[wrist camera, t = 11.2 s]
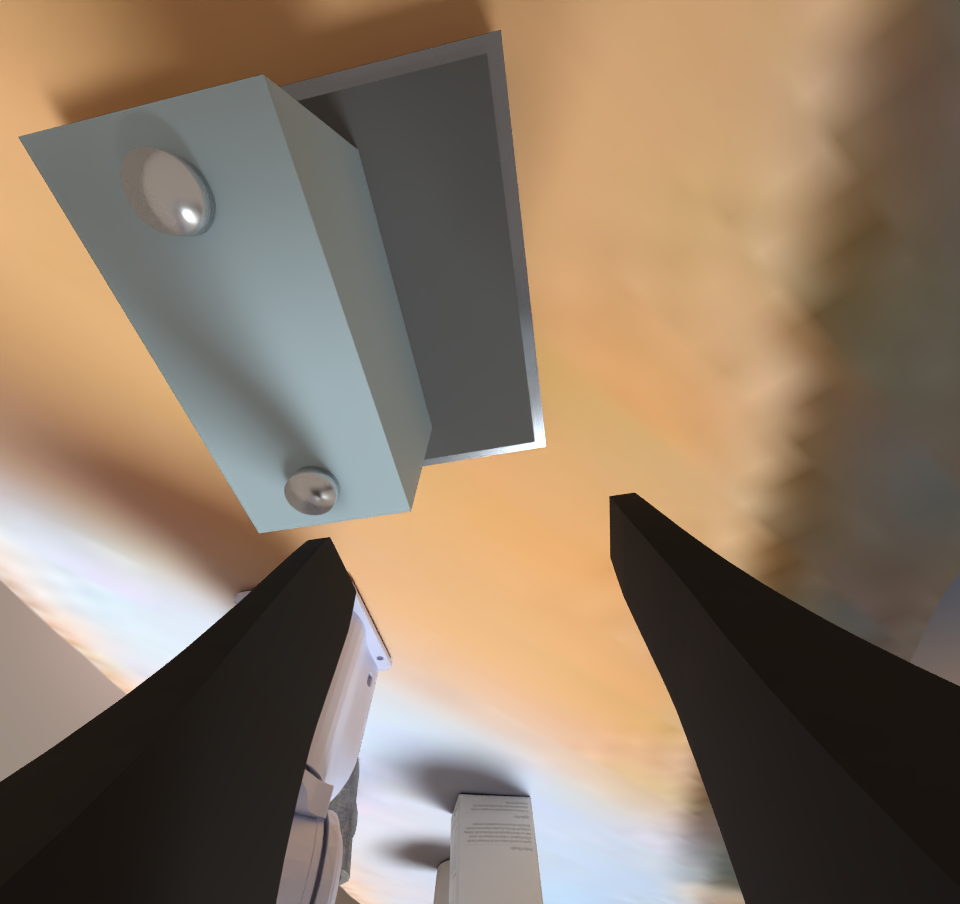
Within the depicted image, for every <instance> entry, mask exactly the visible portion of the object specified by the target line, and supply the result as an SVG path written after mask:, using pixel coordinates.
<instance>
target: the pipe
mask: <svg viewBox="0 0 960 904" xmlns="http://www.w3.org/2000/svg"><path fill="white" fill-rule="evenodd" d="M358 779H359V763H358V761H357V762H356V765H355V767H354V769H353V771H352V773H351V775H350V777H349V779H348V781H347V782H346V784H345V785H344V786H343V788H342V789H341V791H340V792H339V793H338V794H337V796H336V797H335V798H334V799H333V800H332V801H331V802H330V804H329V808H328V810H333V811H334V812H335V813H336V814H337V816H338V819H339V824H340V831H341V834H342V841H343V856H342V866H341V873H340V879H339V885H341V884H343V883H346V882H347V881H348V880H349V878H350V865H351V850H352V838H353V836H354V834H355V831H356V826H357V814H358V811H357V804H356V797H357V786H358Z"/></svg>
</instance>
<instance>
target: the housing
mask: <svg viewBox="0 0 960 904" xmlns="http://www.w3.org/2000/svg"><path fill="white" fill-rule="evenodd" d="M19 139H20V141H21V142H22V144H23V146H24V147H25V149H26V151H27V152H28V154H29V156H30V157H31V159H32V161H33V162H34V164H35V165H36V167H37V169H38V170H39V172H40V174H41V175H42V177H43V179H44V180H45V182H46V184H47V185H48V187H49V189H50V190H51V192H52V193H53V195H54V197H55V198H56V200H57V202H58V203H59V205H60V207H61V208H62V210H63V212H64V213H65V215H66V217H67V218H68V220H69V221H70V223H71V225H72V226H73V228H74V230H75V231H76V233H77V235H78V236H79V238H80V240H81V241H82V243H83V245H84V246H85V248H86V249H87V251H88V253H89V254H90V256H91V258H92V259H93V261H94V263H95V264H96V266H97V268H98V269H99V271H100V273H101V274H102V276H103V277H104V279H105V281H106V282H107V284H108V286H109V287H110V289H111V291H112V292H113V294H114V296H115V297H116V299H117V301H118V302H119V304H120V305H121V307H122V309H123V310H124V312H125V314H126V315H127V317H128V319H129V320H130V322H131V324H132V325H133V327H134V329H135V330H136V332H137V333H138V335H139V337H140V338H141V340H142V342H143V343H144V345H145V347H146V348H147V350H148V352H149V353H150V355H151V357H152V358H153V360H154V361H155V363H156V365H157V366H158V368H159V370H160V371H161V373H162V375H163V376H164V378H165V380H166V381H167V383H168V385H169V386H170V388H171V389H172V391H173V393H174V394H175V396H176V398H177V399H178V401H179V403H180V404H181V406H182V408H183V409H184V411H185V413H186V414H187V416H188V417H189V419H190V421H191V422H192V424H193V426H194V427H195V429H196V431H197V432H198V434H199V436H200V437H201V439H202V441H203V442H204V444H205V445H206V447H207V449H208V450H209V452H210V454H211V455H212V457H213V459H214V460H215V462H216V464H217V465H218V467H219V469H220V470H221V472H222V473H223V475H224V477H225V478H226V480H227V482H228V483H229V485H230V487H231V488H232V490H233V492H234V493H235V495H236V497H237V498H238V500H239V501H240V503H241V505H242V506H243V508H244V510H245V511H246V513H247V515H248V516H249V518H250V520H251V521H252V523H253V525H254V526H255V528H256V529H257V531H258V533H266V532H273V531H279V530H286V529H293V528H300V527H307V526H313V525H320V524H327V523H334V522H341V521H347V520H354V519H361V518H368V517H375V516H381V515H388V514H395V513H402V512H409V511H411V508H412V505H413V501H414V497H415V493H416V489H417V485H418V481H419V477H420V473H421V470H422V466H423V462H424V458H425V454H426V450H427V446H428V442H429V439H430V435H431V431H432V425H431V422H430V418H429V414H428V410H427V407H426V403H425V399H424V395H423V391H422V388H421V384H420V380H419V376H418V373H417V369H416V365H415V361H414V358H413V354H412V350H411V346H410V343H409V339H408V335H407V331H406V328H405V324H404V320H403V316H402V313H401V309H400V305H399V301H398V298H397V294H396V290H395V286H394V283H393V279H392V275H391V271H390V268H389V264H388V260H387V256H386V252H385V249H384V245H383V241H382V237H381V234H380V230H379V226H378V222H377V219H376V215H375V211H374V207H373V204H372V200H371V196H370V192H369V189H368V185H367V181H366V177H365V174H364V170H363V166H362V162H361V159H360V155H359V151H358V149H356V148H355V147H354V146H353V145H351V144H350V143H349V142H348V141H346V140H345V139H344V138H343V137H341V136H340V135H339V134H338V133H336V132H335V131H334V130H333V129H331V128H330V127H329V126H328V125H326V124H325V123H324V122H323V121H321V120H320V119H319V118H318V117H316V116H315V115H314V114H313V113H311V112H310V111H309V110H308V109H306V108H305V107H304V106H303V105H301V104H300V103H299V102H298V101H296V100H295V99H294V98H293V97H291V96H290V95H289V94H288V93H286V92H285V91H284V90H283V89H281V88H280V87H279V86H278V85H276V84H275V83H274V82H273V81H271V80H270V79H269V78H268V77H266V76H265V75H264V74H262V75H258V76H254V77H250V78H246V79H242V80H238V81H234V82H231V83H227V84H223V85H219V86H215V87H211V88H207V89H203V90H199V91H195V92H192V93H188V94H184V95H180V96H176V97H172V98H168V99H164V100H160V101H156V102H153V103H149V104H145V105H141V106H137V107H133V108H129V109H125V110H121V111H117V112H113V113H110V114H106V115H102V116H98V117H94V118H90V119H86V120H82V121H78V122H74V123H71V124H67V125H63V126H59V127H55V128H51V129H47V130H43V131H39V132H35V133H32V134H28V135H24V136H20V137H19Z"/></svg>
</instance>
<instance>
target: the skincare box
mask: <svg viewBox="0 0 960 904" xmlns="http://www.w3.org/2000/svg"><path fill="white" fill-rule="evenodd" d="M449 904H543V899H542V890H541V881H540V873H539V864H538V855H537V846H536V838H535V830H534V821H533V813H532V805H531V798H530V797H517V796H491V795H468V794H459V796H458V799H457V802H456V805H455V808H454V811H453V814H452V818H451V844H450V880H449Z"/></svg>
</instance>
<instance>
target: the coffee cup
mask: <svg viewBox="0 0 960 904" xmlns="http://www.w3.org/2000/svg"><path fill="white" fill-rule="evenodd" d="M449 880H450V860H447V861H445V862H443V863H441V864H440V865H439V867H438V870H437V877H436V886H435V895H434V904H449Z"/></svg>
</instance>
